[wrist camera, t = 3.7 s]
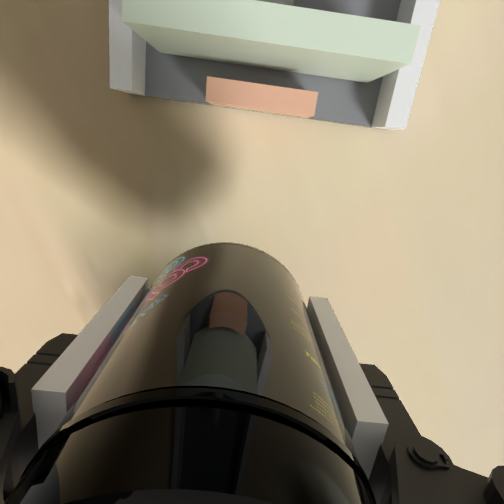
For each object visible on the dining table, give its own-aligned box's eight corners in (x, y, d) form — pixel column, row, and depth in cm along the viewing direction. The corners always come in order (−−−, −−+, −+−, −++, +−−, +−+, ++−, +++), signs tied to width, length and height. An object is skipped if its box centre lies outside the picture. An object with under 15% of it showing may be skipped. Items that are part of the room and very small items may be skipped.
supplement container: (234, 201, 13) (194, 388, 3) (334, 317, 15) (500, 665, 5) (117, 301, 15) (-158, 643, 5) (221, 396, 16) (178, 793, 6)
